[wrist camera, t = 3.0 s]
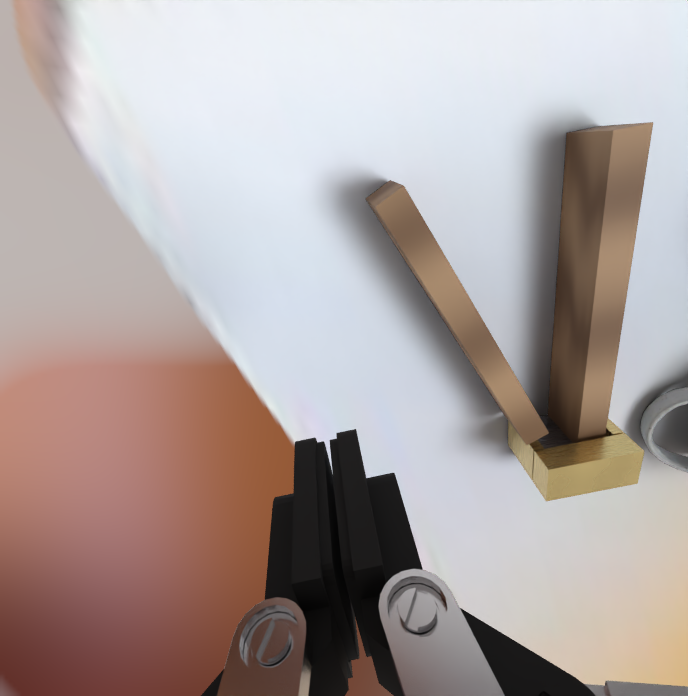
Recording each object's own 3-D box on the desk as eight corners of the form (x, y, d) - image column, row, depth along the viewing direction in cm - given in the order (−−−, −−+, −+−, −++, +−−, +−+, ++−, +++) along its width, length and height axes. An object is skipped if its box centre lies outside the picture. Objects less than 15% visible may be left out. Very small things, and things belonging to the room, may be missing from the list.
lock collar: (508, 416, 26) (548, 469, 21) (588, 400, 26) (644, 451, 21) (508, 444, 27) (546, 501, 23) (584, 429, 27) (637, 483, 23)
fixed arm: (566, 133, 19) (613, 130, 16) (600, 126, 19) (653, 122, 16) (546, 432, 27) (574, 466, 24) (569, 428, 27) (601, 461, 24)
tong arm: (365, 198, 19) (374, 207, 16) (390, 180, 19) (403, 185, 16) (503, 414, 26) (526, 445, 23) (523, 402, 25) (549, 433, 23)
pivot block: (520, 420, 26) (546, 453, 23) (568, 410, 26) (600, 443, 23) (519, 454, 28) (543, 490, 25) (565, 445, 28) (595, 480, 25)
